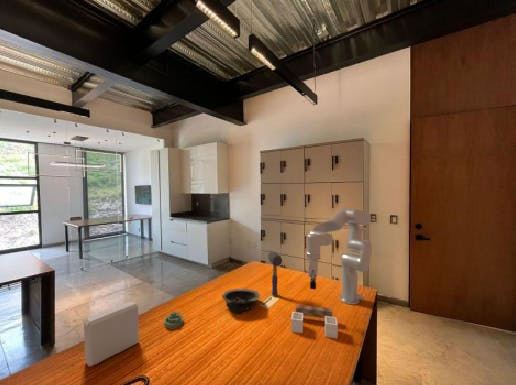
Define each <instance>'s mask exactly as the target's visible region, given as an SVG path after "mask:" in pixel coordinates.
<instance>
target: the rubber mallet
mask: <svg viewBox="0 0 516 385" xmlns="http://www.w3.org/2000/svg"><path fill="white" fill-rule="evenodd" d="M267 258H268V261H270V263H271V264H272V276H271V277H272V278H271V280H272V281H271V283H272V288H271V290H272V291H271V294H272V296H273V297H277V295H278V275H277V274H278V273H277V272H278V270H277V269H278V268H277V267H278V266H279V267H280V265H281V264H283V259H282V257H281V256H280V254H279V253H277V252H276V251H274V250H273V251H272V250H271V251H269V253H268V255H267Z"/></svg>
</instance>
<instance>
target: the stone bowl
mask: <svg viewBox="0 0 516 385" xmlns="http://www.w3.org/2000/svg"><path fill="white" fill-rule="evenodd" d="M221 297H222V298H223V300H224V301H225V302H226V306H227V308H228V311H230V312H232V313H242V312H243V311H246V310H252V309H254V306H255V303H256V301H257V300H259V299H260V298H261V294H260V293H259V292H258V290H254V289H249V288H235V289H229V290H227V291H225V292H224V293H223V294H221Z"/></svg>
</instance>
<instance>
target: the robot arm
mask: <svg viewBox="0 0 516 385" xmlns="http://www.w3.org/2000/svg"><path fill="white" fill-rule="evenodd" d="M371 222H372V215H371V214H370V213H369V212H367V211H365V210H362V209H358V208H352V207H341V208H340V209H339V210H338V211H337V212H336V213H335V214H334V215H333V216H332V217H331V218H330V219H328V220H324V221H323V222H319V223H318V224H316V225H315V226H314V227H313V228H312V229H311V230H310V231H309V232H308V234H307V235H306V259H308V262H307V265H308V266H307V276H308V278H310V280H309V281H310V282H309V289H310V290H317V278H318V273H319V272H318V271H319V261H320V260H321V247H326V246H330V245H331V244H332V243H333V241H334V238H333V236H332V234H331V233H330V232H337V231H340V230H342V229H343V227H344V226H345V225H346V224H347V226H348V234H347V239H346V245H345V246H346V249H347V250H348V251H349V252H344V253H343V254H341V257H340V261H341V262H340V263H341V267H342V270H341V272H342V274H341V275H342V278H341V280H342V282H341V288H342V289H341V294H339V300H340V301H341V302H342V303H344V304H347V305H358V304H359V303H360V302H361V301H360V300H366V296H364V295H362V294H358V280H359V278H358V272H361V273H366V272H367V271H368V270H369V268H370V262H371V257H372V253H373V245H372V243H371V241H369V240H367V239H363V238H362V237H363V229H362V226H368V225H369V224H371ZM351 252H352V253H351ZM355 253H357V254H355ZM359 254H360V255H359Z"/></svg>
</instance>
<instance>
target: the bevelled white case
mask: <svg viewBox="0 0 516 385" xmlns="http://www.w3.org/2000/svg"><path fill="white" fill-rule="evenodd" d="M139 323H140V322H139V305H138V304H137V303H136V302H135V301H132V300H131V301H129V302H127V303H123V304H121V305H118V306H115V307H113V308H109V309H107V310H104V311H102V312H99V313H97V314H94V315H91V316H89V317H86V319H85V320H84V321H83V331H84V332H83V335H84V339H83V340H84V361H85V363H86V365H87V366H88V367H90V366H91V365H94V364H96V365H97V363H98V364H100V363H102V362H103V360H104V361H106V360H108V359H110V358H111V356H112V357H113V355H114V356H115V354H116V355H117V354H119V353H121V352H123V351H125V350H127V349H129V348H131V347H133V346H135V345H137V344H139V342H140V331H139ZM109 357H110V358H109ZM107 358H108V359H107ZM105 359H106V360H105ZM101 361H102V362H101ZM99 362H100V363H99ZM94 366H95V365H94Z"/></svg>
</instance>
